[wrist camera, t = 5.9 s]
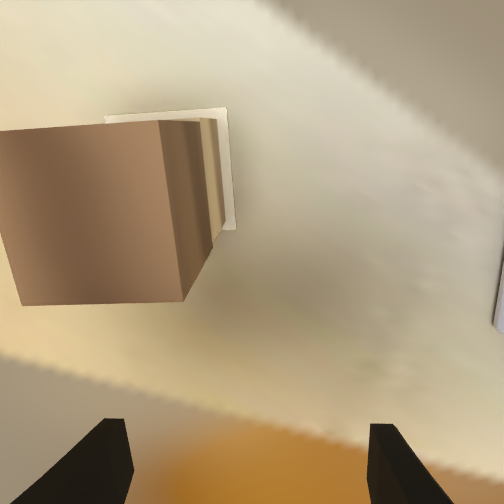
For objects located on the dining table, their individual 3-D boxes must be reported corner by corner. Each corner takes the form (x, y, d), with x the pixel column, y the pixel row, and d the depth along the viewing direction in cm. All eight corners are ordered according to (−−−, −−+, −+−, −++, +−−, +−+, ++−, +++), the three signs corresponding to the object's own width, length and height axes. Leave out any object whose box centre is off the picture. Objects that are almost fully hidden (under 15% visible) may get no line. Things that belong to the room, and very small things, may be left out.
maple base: (216, 119, 18) (199, 117, 14) (225, 221, 19) (212, 244, 15) (115, 125, 18) (72, 126, 14) (132, 224, 20) (97, 248, 16)
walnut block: (199, 121, 14) (157, 119, 9) (212, 247, 15) (183, 301, 11) (73, 130, 14) (-29, 133, 10) (98, 252, 16) (21, 305, 11)
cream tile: (226, 106, 17) (226, 107, 17) (236, 229, 19) (235, 230, 19) (105, 115, 18) (104, 115, 18) (126, 234, 20) (125, 234, 20)
